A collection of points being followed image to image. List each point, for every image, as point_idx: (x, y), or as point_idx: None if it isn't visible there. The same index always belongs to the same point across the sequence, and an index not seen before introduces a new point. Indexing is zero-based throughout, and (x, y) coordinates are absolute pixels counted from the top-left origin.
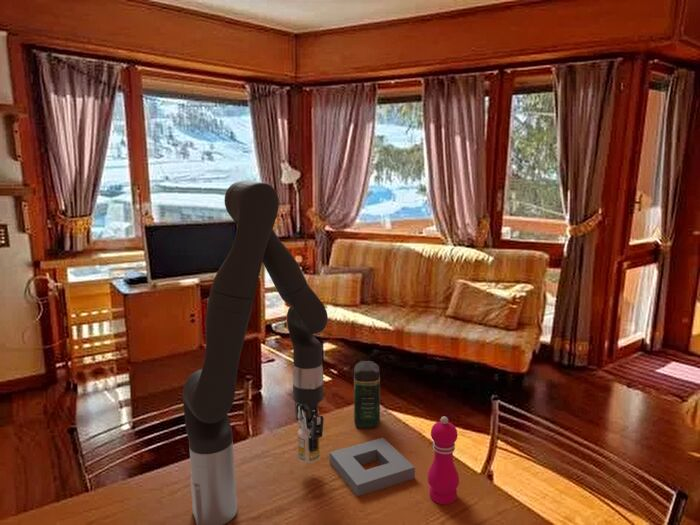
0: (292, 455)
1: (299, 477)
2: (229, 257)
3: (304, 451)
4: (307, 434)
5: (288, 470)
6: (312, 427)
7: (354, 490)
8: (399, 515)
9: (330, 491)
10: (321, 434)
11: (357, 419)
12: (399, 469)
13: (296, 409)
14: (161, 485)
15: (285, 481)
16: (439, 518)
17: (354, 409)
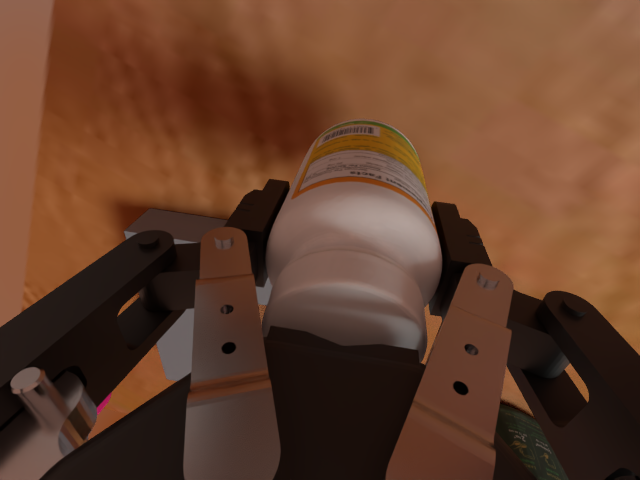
0: (550, 148)
1: (361, 88)
2: None
3: (312, 156)
4: (283, 243)
5: (450, 66)
6: (61, 316)
7: (163, 216)
8: (45, 247)
9: (208, 151)
10: (134, 309)
11: (499, 430)
12: (168, 353)
13: (634, 409)
14: None
15: (373, 3)
16: (26, 301)
17: (537, 465)
